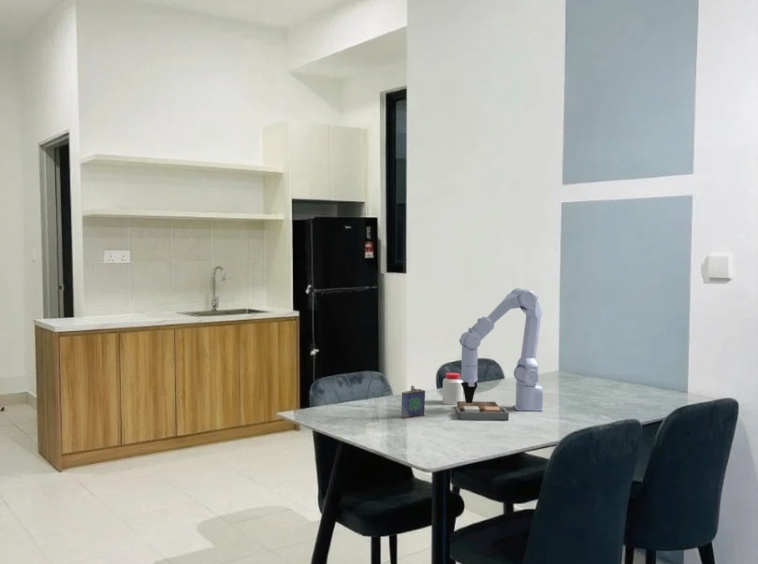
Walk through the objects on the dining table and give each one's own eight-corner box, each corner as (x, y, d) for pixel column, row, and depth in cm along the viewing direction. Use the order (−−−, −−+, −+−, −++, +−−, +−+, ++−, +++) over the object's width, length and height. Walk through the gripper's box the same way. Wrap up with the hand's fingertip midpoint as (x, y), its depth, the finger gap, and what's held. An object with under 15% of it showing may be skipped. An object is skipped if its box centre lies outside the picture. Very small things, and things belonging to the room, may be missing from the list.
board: (494, 407, 267) (495, 401, 267) (499, 414, 256) (500, 408, 255) (457, 406, 268) (457, 401, 268) (460, 413, 256) (460, 408, 256)
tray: (504, 414, 255) (504, 407, 255) (508, 420, 246) (508, 413, 246) (456, 413, 256) (456, 406, 256) (458, 419, 247) (458, 412, 247)
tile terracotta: (498, 413, 255) (498, 406, 255) (500, 416, 250) (500, 409, 250) (483, 413, 255) (484, 406, 255) (485, 416, 250) (486, 409, 250)
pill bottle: (461, 405, 270) (462, 376, 270) (441, 404, 272) (441, 375, 271) (463, 401, 278) (464, 372, 277) (443, 400, 279) (444, 371, 279)
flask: (403, 418, 247) (404, 387, 247) (399, 417, 250) (399, 386, 249) (426, 416, 252) (426, 385, 252) (421, 414, 254) (421, 384, 254)
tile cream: (477, 413, 255) (477, 406, 255) (479, 416, 250) (479, 409, 250) (463, 413, 255) (463, 406, 255) (464, 416, 250) (465, 409, 250)
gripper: (456, 362, 267) (455, 398, 268) (460, 368, 253) (459, 407, 253) (475, 362, 267) (474, 398, 268) (480, 368, 253) (480, 407, 253)
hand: (468, 402), depth 261 cm, fingers closed
